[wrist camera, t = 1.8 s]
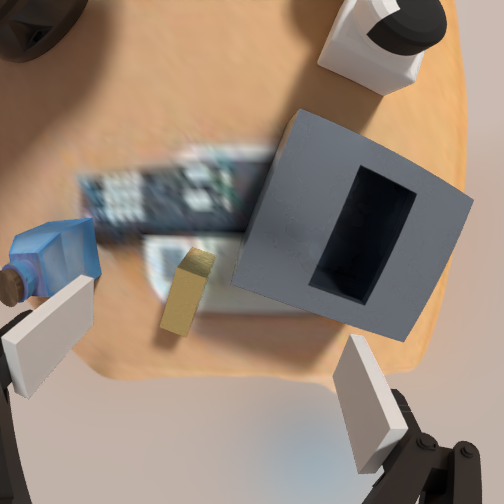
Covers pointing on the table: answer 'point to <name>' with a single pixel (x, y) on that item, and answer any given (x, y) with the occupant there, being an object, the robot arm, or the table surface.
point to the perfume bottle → (49, 260)
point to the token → (187, 291)
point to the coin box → (349, 229)
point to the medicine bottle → (382, 41)
